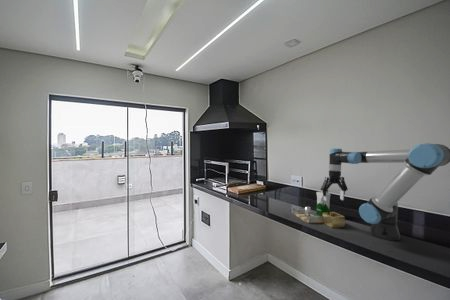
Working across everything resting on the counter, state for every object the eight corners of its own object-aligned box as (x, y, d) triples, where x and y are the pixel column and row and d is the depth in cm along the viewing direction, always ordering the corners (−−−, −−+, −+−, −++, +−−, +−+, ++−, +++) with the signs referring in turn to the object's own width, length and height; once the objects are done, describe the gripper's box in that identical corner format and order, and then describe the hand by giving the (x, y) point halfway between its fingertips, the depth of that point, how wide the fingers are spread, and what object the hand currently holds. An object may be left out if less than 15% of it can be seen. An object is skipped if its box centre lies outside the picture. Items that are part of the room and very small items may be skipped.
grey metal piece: (321, 220, 150) (321, 210, 150) (309, 221, 148) (309, 211, 148) (306, 211, 169) (306, 203, 169) (294, 212, 167) (295, 203, 166)
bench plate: (322, 222, 150) (322, 220, 150) (307, 223, 148) (307, 221, 148) (307, 213, 169) (307, 211, 169) (293, 214, 167) (293, 212, 167)
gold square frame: (344, 226, 143) (344, 216, 143) (331, 227, 141) (332, 217, 141) (334, 221, 153) (334, 212, 153) (322, 222, 151) (322, 212, 151)
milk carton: (331, 215, 165) (332, 191, 164) (323, 217, 161) (323, 191, 161) (322, 212, 173) (323, 188, 172) (314, 213, 169) (314, 189, 169)
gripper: (345, 169, 152) (344, 198, 153) (315, 169, 147) (314, 199, 148) (354, 170, 145) (352, 200, 146) (322, 171, 140) (321, 202, 140)
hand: (333, 200), depth 147 cm, fingers open, 13 cm apart
